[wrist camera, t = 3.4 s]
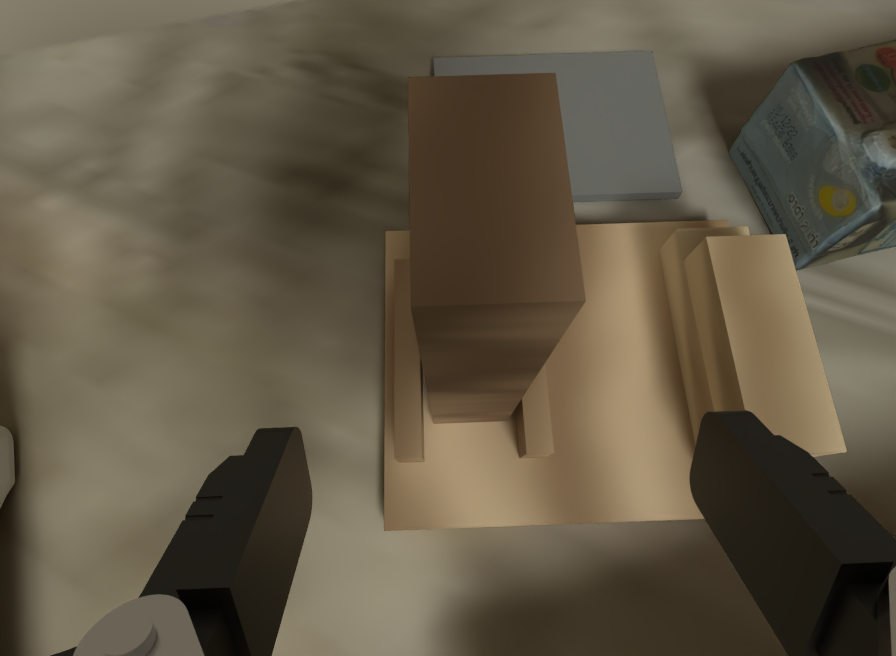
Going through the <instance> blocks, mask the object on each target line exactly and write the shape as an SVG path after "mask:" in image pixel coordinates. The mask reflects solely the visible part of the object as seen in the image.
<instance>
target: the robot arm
mask: <svg viewBox="0 0 896 656" xmlns="http://www.w3.org/2000/svg"><path fill="white" fill-rule="evenodd" d="M689 481H690V489H691V493H692V496H693V499H694V501H695V504H696V505H697V507H698V509H699V510H700V512H701V514H702V515H703V517H704V519H705V520H706V522H707V523H708V525H709V527H710V528H711V530H712V532H713V533H714V535H715V536H716V538H717V540H718V541H719V543H720V545H721V546H722V548H723V549H724V551H725V553H726V554H727V556H728V558H729V559H730V561H731V563H732V564H733V566H734V567H735V569H736V571H737V572H738V574H739V576H740V577H741V579H742V580H743V582H744V584H745V585H746V587H747V589H748V590H749V592H750V593H751V595H752V597H753V598H754V600H755V602H756V603H757V605H758V607H759V608H760V610H761V611H762V613H763V615H764V616H765V618H766V620H767V621H768V623H769V624H770V626H771V628H772V629H773V631H774V633H775V634H776V636H777V637H778V639H779V641H780V642H781V644H782V646H783V647H784V649H785V651H786V652H787V654H788V655H789V656H896V540H895V539H894V538H893V537H892V536H891V535H890V534H889V533H888V532H887V531H886V530H885V529H884V528H883V527H882V526H881V525H880V524H879V523H878V522H877V521H876V520H875V519H874V518H873V517H872V516H871V515H870V514H869V513H868V512H867V511H866V510H865V509H864V508H863V507H862V506H861V505H860V504H859V503H858V502H857V501H856V500H855V499H854V498H853V497H852V496H851V495H847V494H846V490H845V489H844V488H843V487H842V486H841V485H840V484H839V483H838V482H837V481H836V480H835V479H834V478H833V477H829V473H828V472H827V471H826V470H825V469H824V468H823V467H822V466H821V465H820V464H819V463H818V462H817V461H816V460H815V459H814V458H813V457H812V456H811V455H810V454H809V453H808V452H807V451H805V450H804V449H802V448H800V447H799V446H797V445H796V444H794V443H792V442H791V441H789V440H787V439H786V438H784V437H782V436H781V435H773V433H772V432H771V431H770V430H769V429H768V428H767V427H766V426H765V425H764V424H763V423H762V422H761V421H760V420H759V419H758V418H757V417H756V416H755V415H754V414H753V413H752V412H750V411H747V410H740V411H715V412H707V413H705V414H704V416H703V418H702V420H701V424H700V428H699V433H698V437H697V442H696V446H695V451H694V455H693V460H692V464H691V468H690V475H689ZM311 510H312V487H311V481H310V476H309V470H308V465H307V460H306V455H305V450H304V444H303V439H302V434H301V431H300V429H299V428H298V427H285V428H261V429H258V430H257V431H256V432H255V434H254V436H253V438H252V440H251V442H250V444H249V446H248V448H247V450H246V452H245V454H244V455H241V456H229V457H228V458H227V459H226V460H225V461H224V462H223V463H221V464H220V465H219V466H218V467H217V468H216V469H215V470H214V471H213V472H211V473H210V474H209V475H208V477H207V479H206V480H205V482H204V484H203V486H202V487H201V489H200V491H199V493H198V494H197V496H196V501H195V502H193V503H192V505H191V507H190V509H189V510H188V512H187V514H186V518H185V520H184V521H182V523H181V524H180V526H179V528H178V530H177V531H176V533H175V535H174V537H173V538H172V540H171V542H170V544H169V545H168V547H167V549H166V551H165V553H164V554H163V556H162V558H161V560H160V561H159V563H158V565H157V567H156V568H155V570H154V572H153V574H152V575H151V577H150V579H149V581H148V582H147V584H146V586H145V588H144V589H143V591H142V593H141V595H140V596H139V598H137V599H134V600H132V601H129V602H127V603H125V604H123V605H121V606H119V607H118V608H116V609H114V610H113V611H111V612H110V613H108V614H107V615H106V616H104V617H103V618H102V619H101V620H100V621H98V622H97V623H96V624H95V625H94V626H93V627H92V628H91V629H90V630H89V631H88V632H87V634H86V635H85V636H84V638H83V639H82V640H81V641H80V643H79V645H78V646H77V647H74V648H72V649H69V650H66V651H63V652H60V653H57V654H54V655H51V656H272V652H273V649H274V645H275V641H276V638H277V634H278V631H279V627H280V624H281V620H282V617H283V613H284V609H285V606H286V602H287V599H288V595H289V592H290V588H291V585H292V581H293V577H294V574H295V570H296V567H297V563H298V560H299V556H300V553H301V549H302V546H303V542H304V538H305V535H306V531H307V528H308V524H309V521H310V516H311Z"/></svg>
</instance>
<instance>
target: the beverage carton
mask: <svg viewBox="0 0 896 656" xmlns="http://www.w3.org/2000/svg"><path fill="white" fill-rule="evenodd" d="M729 154H730V157H731V158H732V160H733V162H734V163H735V165H736V166H737V168H738V170H739V172H740V174H741V176H742V177H743V179H744V181H745V183H746V185H747V186H748V188H749V190H750V192H751V194H752V196H753V198H754V200H755V202H756V204H757V206H758V208H759V210H760V212H761V214H762V215H763V217H764V219H765V221H766V223H767V225H768V227H769V229H770V231H771V232H772V234H773V235H774V234H786V237H787V241H788V244H789V248H790V251H791V255H792V259H793V262H794V266H795V269H796V270H800V269H804V268H808V267H812V266H817V265H822V264H826V263H829V262H833V261H836V260H840V259H844V258H848V257H852V256H856V255H860V254H865V253H869V252H873V251H878V250H883V249H887V248H892V247H896V40H893V41H889V42H885V43H880V44H876V45H871V46H867V47H862V48H859V49H856V50H852V51H848V52H835V53H830V54H826V55H823V56H820V57H811V58H804V59H800V60H797V61H794V62H793V63H791V64H790V65H789V66H788V68H787V69H786V70H785V72H784V73H783V74H782V76H781V77H780V78H779V80H778V81H777V83H776V84H775V86H774V87H773V89H772V90H771V91H770V93H769V94H768V95H767V97H766V98H765V99H764V100H763V101H762V102H761V104H760V105H759V106H758V107H757V108H756V109H755V111H754V112H753V114H752V116H751V117H750V119H749V120H748V121H747V122H746V123H745V124H744V125H743V127H742V130H741V132H740V134H739V136H738V137H737V139H736V140H735V142H734V143H733V145H732V146H731V148H730V149H729Z"/></svg>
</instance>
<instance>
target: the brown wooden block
mask: <svg viewBox="0 0 896 656" xmlns="http://www.w3.org/2000/svg"><path fill="white" fill-rule="evenodd" d="M408 131H409V215H410V298H411V311H412V317H413V322H414V327H415V332H416V337H417V342H418V347H419V352H420V357H421V362H422V368H423V373H424V378H425V383H426V388H427V393H428V398H429V403H430V408H431V413H432V419H433V424H444V423H472V422H500V421H507V420H508V419H509V417H510V416H511V414H512V413H513V411H514V410H515V408H516V407H517V405H518V404H519V402H520V401H521V399H522V397H523V396H524V394H525V393H526V391H527V390H528V388H529V387H530V385H531V384H532V382H533V381H534V379H535V378H536V376H537V375H538V373H539V372H540V370H541V369H542V367H543V366H544V364H545V362H546V361H547V359H548V358H549V356H550V355H551V353H552V352H553V350H554V349H555V347H556V346H557V344H558V343H559V341H560V340H561V338H562V337H563V335H564V334H565V332H566V331H567V329H568V327H569V326H570V324H571V323H572V321H573V320H574V318H575V317H576V315H577V314H578V312H579V311H580V309H581V308H582V306H583V305H584V303H585V302H586V297H585V290H584V282H583V275H582V267H581V260H580V252H579V245H578V237H577V230H576V222H575V214H574V207H573V199H572V192H571V184H570V177H569V169H568V162H567V154H566V147H565V139H564V131H563V124H562V116H561V109H560V101H559V94H558V86H557V79H556V73H526V74H493V75H460V76H427V77H408Z"/></svg>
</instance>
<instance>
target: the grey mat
mask: <svg viewBox="0 0 896 656" xmlns="http://www.w3.org/2000/svg"><path fill="white" fill-rule="evenodd" d="M526 73H556V79H557V86H558V94H559V101H560V109H561V116H562V124H563V131H564V139H565V147H566V154H567V162H568V169H569V177H570V184H571V192H572V199H573V202H588V201H619V200H650V199H677V198H678V197H679V196H680V194H681V193H682V187H681V183H680V178H679V173H678V169H677V164H676V159H675V155H674V150H673V145H672V141H671V136H670V131H669V127H668V122H667V117H666V113H665V108H664V103H663V99H662V94H661V90H660V85H659V80H658V76H657V71H656V66H655V62H654V57H653V52H652V51H640V52H607V53H573V54H540V55H507V56H473V57H440V58H434V76H460V75H493V74H526Z"/></svg>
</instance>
